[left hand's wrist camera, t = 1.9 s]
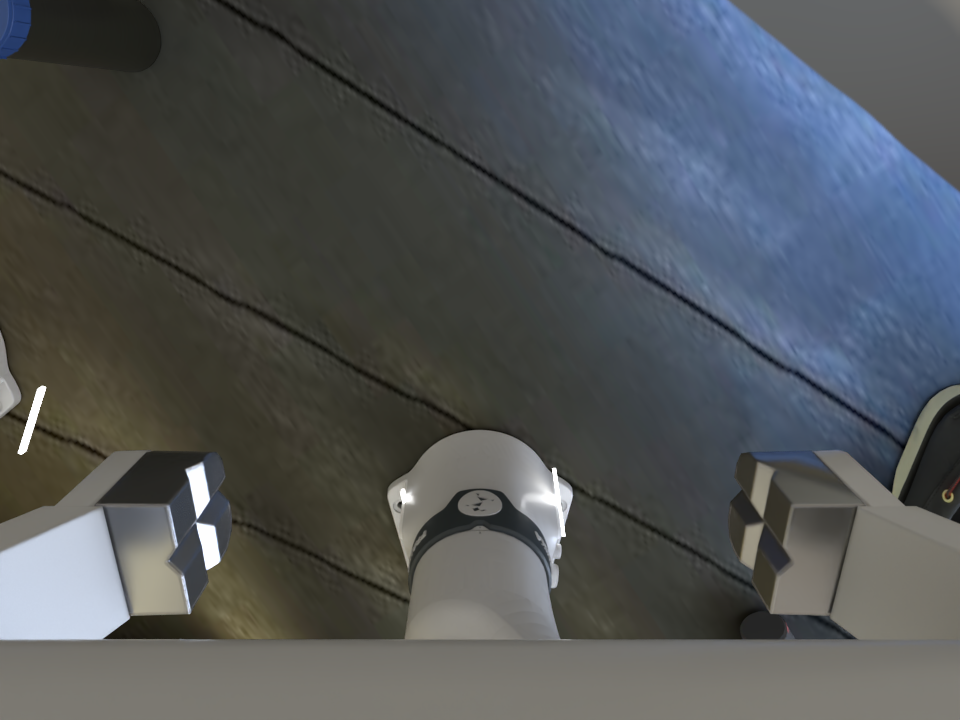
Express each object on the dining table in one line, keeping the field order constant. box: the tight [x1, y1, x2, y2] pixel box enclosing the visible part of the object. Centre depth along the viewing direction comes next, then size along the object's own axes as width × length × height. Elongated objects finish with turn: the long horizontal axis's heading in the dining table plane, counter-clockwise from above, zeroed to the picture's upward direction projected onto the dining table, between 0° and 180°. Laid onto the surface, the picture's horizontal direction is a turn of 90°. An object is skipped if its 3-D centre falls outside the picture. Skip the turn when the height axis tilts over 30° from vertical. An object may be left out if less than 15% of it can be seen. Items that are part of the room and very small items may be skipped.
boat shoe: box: [892, 385, 960, 524], centre depth 63 cm, size 13×33×10 cm, turn 172°
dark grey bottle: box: [6, 0, 161, 72], centre depth 43 cm, size 5×5×18 cm
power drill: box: [740, 611, 796, 640], centre depth 73 cm, size 5×19×20 cm
